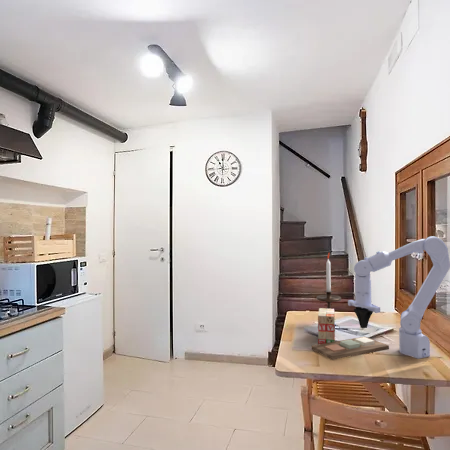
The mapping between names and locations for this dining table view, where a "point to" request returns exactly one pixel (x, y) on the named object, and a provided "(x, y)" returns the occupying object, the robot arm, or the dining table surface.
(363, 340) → the cream tile
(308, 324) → the dining table surface
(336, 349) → the terracotta tile
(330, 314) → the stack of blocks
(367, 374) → the dining table surface
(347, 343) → the sage tile
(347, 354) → the tap panel
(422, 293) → the robot arm
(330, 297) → the candlestick
